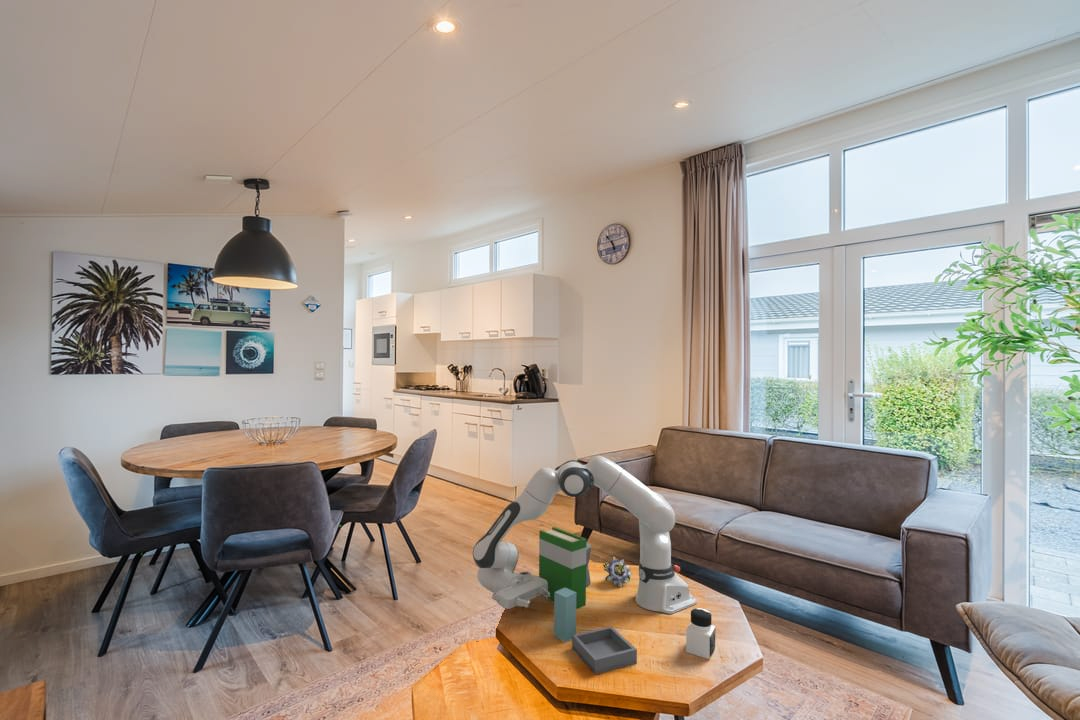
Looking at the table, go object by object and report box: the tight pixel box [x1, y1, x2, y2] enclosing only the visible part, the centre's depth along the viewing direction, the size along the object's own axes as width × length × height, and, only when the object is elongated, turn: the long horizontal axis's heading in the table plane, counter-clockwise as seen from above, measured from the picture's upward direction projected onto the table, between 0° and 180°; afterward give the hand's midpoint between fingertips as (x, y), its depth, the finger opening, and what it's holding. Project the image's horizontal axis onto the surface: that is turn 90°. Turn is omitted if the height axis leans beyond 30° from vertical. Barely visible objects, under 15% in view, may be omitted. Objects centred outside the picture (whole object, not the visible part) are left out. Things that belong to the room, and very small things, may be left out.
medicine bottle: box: [685, 607, 716, 660], centre depth 150 cm, size 7×7×12 cm
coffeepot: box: [586, 542, 592, 588], centre depth 198 cm, size 15×9×18 cm, turn 16°
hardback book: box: [538, 526, 587, 610], centre depth 183 cm, size 18×7×24 cm, turn 41°
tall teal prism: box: [553, 588, 577, 643], centre depth 158 cm, size 5×5×14 cm
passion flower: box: [602, 555, 633, 588], centre depth 198 cm, size 11×11×12 cm
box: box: [571, 626, 638, 675], centre depth 147 cm, size 14×14×4 cm
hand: (538, 599), depth 166 cm, fingers open, 8 cm apart
